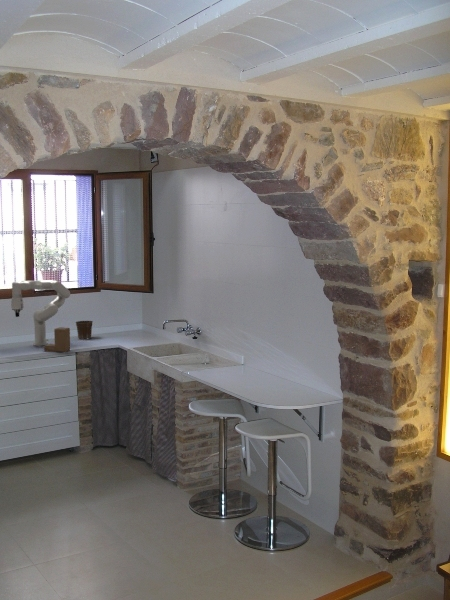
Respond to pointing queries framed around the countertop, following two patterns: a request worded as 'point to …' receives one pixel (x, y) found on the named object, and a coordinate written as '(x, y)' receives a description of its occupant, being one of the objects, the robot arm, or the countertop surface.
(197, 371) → the countertop surface
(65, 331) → the wooden block
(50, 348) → the walnut block
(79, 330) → the plant pot
